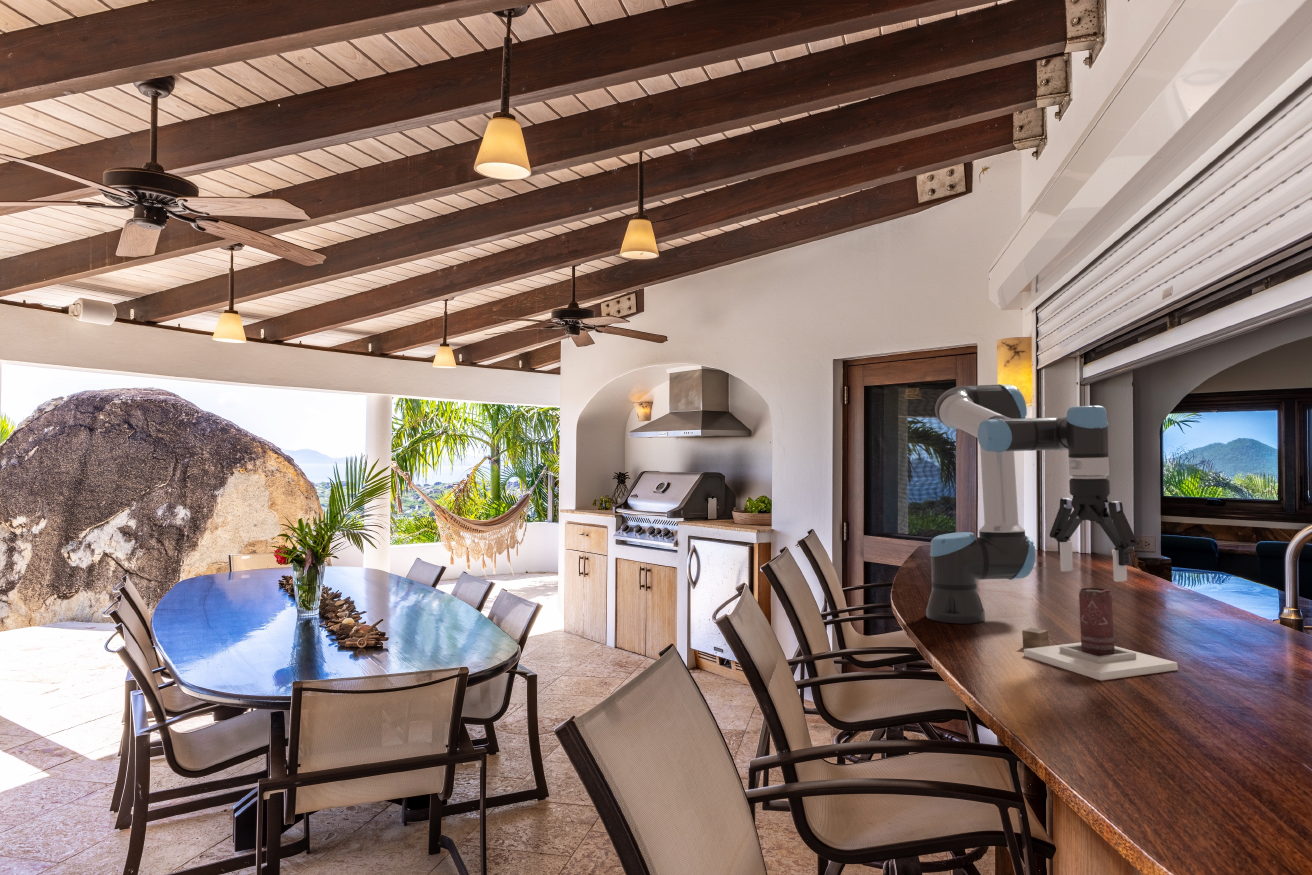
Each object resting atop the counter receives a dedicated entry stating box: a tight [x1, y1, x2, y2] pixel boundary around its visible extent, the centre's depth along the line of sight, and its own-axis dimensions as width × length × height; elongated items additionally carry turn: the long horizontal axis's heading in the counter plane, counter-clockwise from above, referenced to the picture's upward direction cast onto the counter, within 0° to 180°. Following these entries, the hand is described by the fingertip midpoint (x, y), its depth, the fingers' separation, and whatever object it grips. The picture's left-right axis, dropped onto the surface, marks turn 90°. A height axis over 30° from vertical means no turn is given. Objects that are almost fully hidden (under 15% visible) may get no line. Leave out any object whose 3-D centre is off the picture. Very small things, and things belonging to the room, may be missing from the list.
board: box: [1023, 641, 1178, 681], centre depth 158 cm, size 20×20×3 cm
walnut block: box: [1021, 627, 1050, 649], centre depth 172 cm, size 4×4×4 cm
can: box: [1078, 587, 1115, 656], centre depth 159 cm, size 6×6×14 cm
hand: (1092, 575), depth 159 cm, fingers open, 13 cm apart
